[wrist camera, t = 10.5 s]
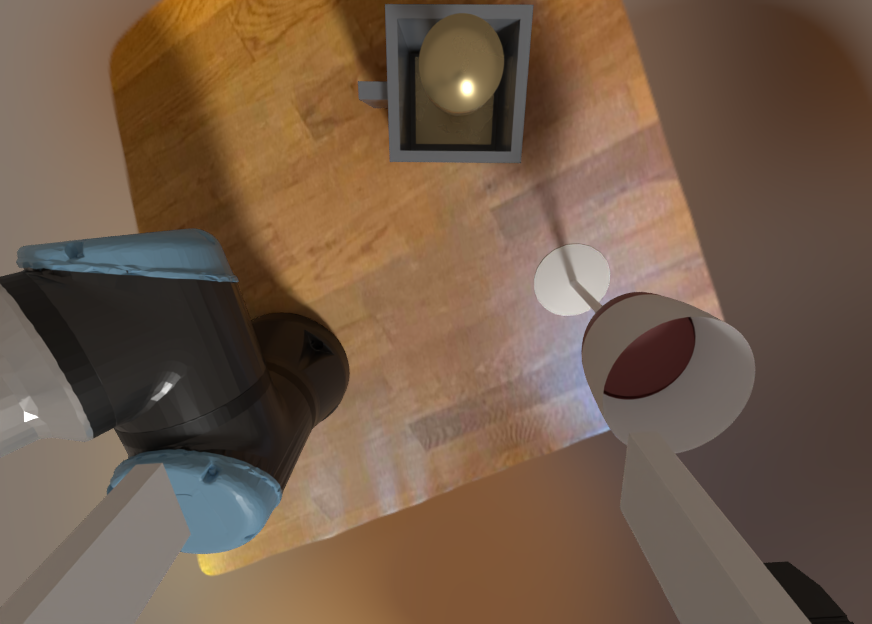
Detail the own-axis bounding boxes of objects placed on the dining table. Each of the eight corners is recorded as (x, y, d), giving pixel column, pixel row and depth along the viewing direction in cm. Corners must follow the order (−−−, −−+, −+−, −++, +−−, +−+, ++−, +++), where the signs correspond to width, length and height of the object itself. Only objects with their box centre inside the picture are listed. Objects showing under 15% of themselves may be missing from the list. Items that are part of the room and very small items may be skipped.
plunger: (416, 144, 40) (393, 139, 23) (415, 58, 37) (389, -22, 20) (490, 144, 40) (524, 140, 22) (494, 59, 37) (538, -22, 20)
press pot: (381, 158, 43) (358, 161, 31) (377, 46, 39) (349, 4, 28) (500, 159, 42) (520, 163, 31) (508, 46, 39) (533, 4, 27)
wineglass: (526, 319, 49) (589, 450, 27) (538, 235, 45) (621, 312, 24) (602, 323, 49) (725, 458, 27) (621, 240, 45) (779, 320, 24)
